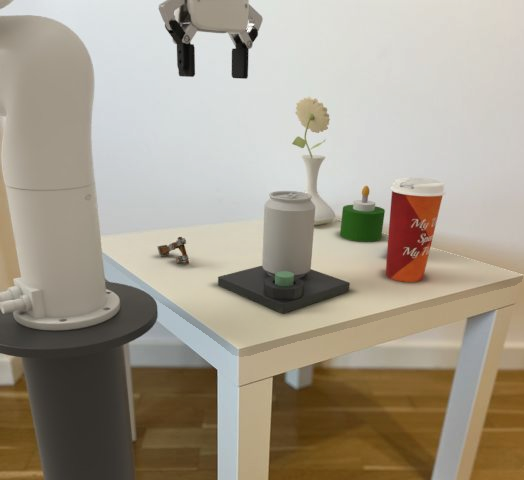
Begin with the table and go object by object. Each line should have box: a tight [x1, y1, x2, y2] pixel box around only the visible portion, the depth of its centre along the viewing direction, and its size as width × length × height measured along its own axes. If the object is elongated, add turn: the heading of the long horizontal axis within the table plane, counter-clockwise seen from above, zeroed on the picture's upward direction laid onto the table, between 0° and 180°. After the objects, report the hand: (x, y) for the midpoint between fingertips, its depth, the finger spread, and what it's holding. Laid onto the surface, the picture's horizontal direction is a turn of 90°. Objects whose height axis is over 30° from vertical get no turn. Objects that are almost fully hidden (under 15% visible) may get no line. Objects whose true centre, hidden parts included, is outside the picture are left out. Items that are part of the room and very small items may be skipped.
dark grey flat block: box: [217, 265, 351, 314], centre depth 82 cm, size 14×14×3 cm
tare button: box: [275, 271, 294, 286], centre depth 76 cm, size 3×3×2 cm
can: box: [261, 190, 316, 278], centre depth 82 cm, size 8×8×12 cm
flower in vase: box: [291, 96, 336, 226], centre depth 115 cm, size 13×11×25 cm
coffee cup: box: [385, 177, 446, 283], centre depth 86 cm, size 8×8×15 cm
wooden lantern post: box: [156, 236, 190, 265], centre depth 92 cm, size 2×8×4 cm, turn 39°
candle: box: [339, 185, 386, 243], centre depth 109 cm, size 8×8×10 cm
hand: (214, 77), depth 81 cm, fingers open, 9 cm apart
